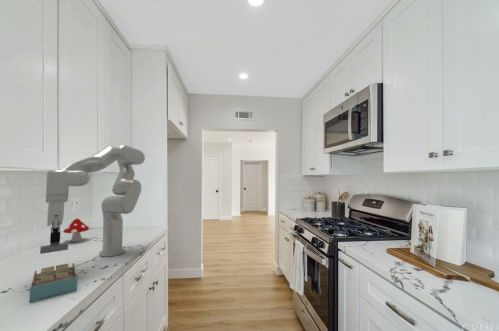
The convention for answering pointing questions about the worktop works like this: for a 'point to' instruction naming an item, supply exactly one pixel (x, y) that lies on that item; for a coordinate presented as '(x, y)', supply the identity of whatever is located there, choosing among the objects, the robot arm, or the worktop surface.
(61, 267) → the oak block
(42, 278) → the oak block
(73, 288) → the teal tray
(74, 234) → the decorative mushroom
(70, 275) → the walnut channel
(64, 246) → the grey stepped block
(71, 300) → the worktop surface
